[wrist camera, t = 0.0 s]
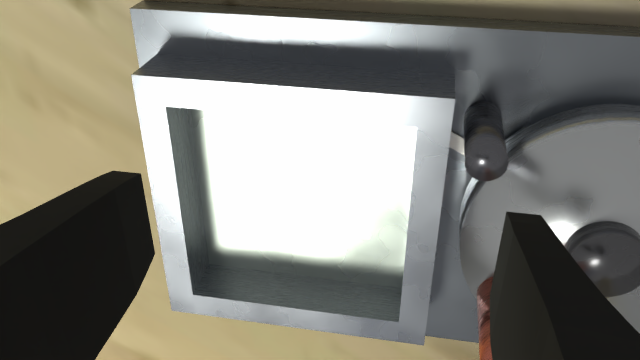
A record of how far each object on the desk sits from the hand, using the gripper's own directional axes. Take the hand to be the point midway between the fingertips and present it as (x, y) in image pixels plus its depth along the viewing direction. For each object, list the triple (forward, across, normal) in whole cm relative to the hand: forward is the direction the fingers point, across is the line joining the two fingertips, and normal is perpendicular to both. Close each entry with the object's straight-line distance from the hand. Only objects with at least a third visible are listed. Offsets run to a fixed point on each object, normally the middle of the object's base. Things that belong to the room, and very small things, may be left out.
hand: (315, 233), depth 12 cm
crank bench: (+10, -3, +5) cm, 12 cm away
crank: (+9, -8, +5) cm, 13 cm away
